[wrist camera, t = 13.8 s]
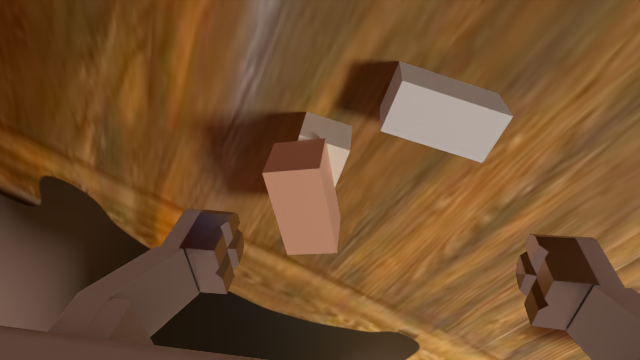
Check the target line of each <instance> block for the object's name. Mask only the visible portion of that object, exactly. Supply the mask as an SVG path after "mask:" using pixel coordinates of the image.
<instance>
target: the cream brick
mask: <svg viewBox="0 0 640 360" xmlns="http://www.w3.org/2000/svg"><path fill="white" fill-rule="evenodd" d="M351 135H352V126H349V125H346V124H343V123H340V122H337V121H334V120H331V119H328V118H324V117H321V116H318V115H315V114H312V113H309V112H306V115H305V119H304V122H303V125H302V128H301V131H300V135H299V138H298V141H302V140H313V139H324V138H326V143H327V148H328V154H329V159H330V164H331V170H332V175H333V181H334V186H336V184H337V181H338V179H339V177H340V174H341V172H342V169H343V167H344V164H345V162H346V159H347V157H348V155H349V152H350V146H351Z"/></svg>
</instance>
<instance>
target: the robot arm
mask: <svg viewBox="0 0 640 360" xmlns="http://www.w3.org/2000/svg"><path fill="white" fill-rule="evenodd" d="M239 224H240V221H239V217H238V214H236V213H234V212H223V211H213V210H199V209H189V208H188V209H187V210H185V211H184V212H183V214H182V215H181V217H180V218H179V220H178V221H177V223H176V224H175V226H174V227H173V229H172V230H171V232H170V233H169V235H168V236H167V238H166V239H165V241H164V243H163V244H162V246H161V247H154V248H153V249H151V250H149V251H148V252H146V253H144V254H143V255H141V256H139V257H138V258H136V259H134V260H133V261H131V262H129V263H127V264H126V265H124V266H122V267H121V268H119V269H117V270H116V271H114V272H112V273H110V274H109V275H107V276H105V277H104V278H102V279H100V280H99V281H97V282H96V283H94V284H92V285H90V286H89V287H87V288H85V289H84V290H82V291H80V292H78V294H77V295H76V296H75V298H74V299H73V300H72V302H71V303H70V304H69V305H68V306H67V308H66V309H65V310H64V312H63V313H62V314H61V315H60V317H59V318H58V319H57V321H56V322H55V323H54V324H53V326H52V327H51V328H50V330H49V331H48V332H46V331H38V330H30V329H22V328H14V327H6V326H0V360H264V359H256V358H248V357H240V356H232V355H225V354H217V353H209V352H201V351H194V350H186V349H178V348H170V347H162V346H155V345H153V343H152V342H151V339H150V337H151V336H152V335H153V334H154V333H155V332H156V331H157V330H159V328H161V327H162V326H163V325H164V324H165V323H166V322H167V321H169V319H171V318H172V317H173V316H174V315H175V314H176V313H178V312H179V311H180V310H181V309H182V308H183V307H184V306H186V305H187V304H188V303H189V302H190V301H191V300H192V299H193V298H194V297H196V296H197V295H198V294H199V292H207V293H220V294H227V292H228V290H229V287H230V285H231V283H232V280H233V278H234V272H233V268H234V267H236V266H237V265H238V264H239V263H240V261H241V258H242V254H243V249H244V239H243V234H242V233H241V232H240V231H239V230H238V229H237V228H238V226H239ZM524 245H525V248H526V250H527V251H526V252H525V253H523V254H522V255H520V257H519V259H518V262H517V269H516V277H517V283H518V286H519V290H520V291H521V292H523V293H524V294H525V295H526V296H527V298H526V301H525V303H524V305H525V308H526V311H527V314H528V318H529V321H530V324H531V326H536V327H544V328H552V329H560V330H567V331H566V332H567V333H568V334H569V336H570V337H571V338H572V339H573V340H574V341H575V342H576V343H577V344H578V345H579V346H580V347H581V348H582V349H583V351H584V352H585V353H586V354H587V355H588V356H589V357H590V358H591V359H592V360H640V294H639V293H637V292H636V291H634V290H633V289H631V288H625V287H624V285H623V284H622V282H621V280H620V279H619V277H618V275H617V273H616V272H615V270H614V268H613V267H612V265H611V263H610V262H609V260H608V258H607V257H606V255H605V253H604V252H603V250H602V248H601V247H600V245H599V243H598V242H597V240H595V239H594V238H589V237H573V236H572V237H569V236H554V235H539V234H530V235H529V236H528V237H527V239H526V241H525V244H524Z"/></svg>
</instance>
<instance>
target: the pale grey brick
mask: <svg viewBox="0 0 640 360" xmlns="http://www.w3.org/2000/svg"><path fill="white" fill-rule="evenodd" d="M512 118H513V116H512V114H511V113H510V111H509V109H508V108H507V106H506V105H505V103H504V102H503V100H502V99H501V97H500V95H499V94H498V93H495V92H492V91H489V90H486V89H483V88H480V87H477V86H474V85H471V84H468V83H465V82H461V81H458V80H455V79H452V78H449V77H446V76H443V75H440V74H437V73H434V72H431V71H428V70H425V69H422V68H419V67H416V66H413V65H410V64H407V63H404V62H401V61H399V63H398V66H397V68H396V70H395V73H394V75H393V78H392V80H391V82H390V85H389V87H388V89H387V92H386V94H385V97H384V99H383V101H382V104H381V106H380V131H382V132H385V133H389V134H392V135H395V136H398V137H401V138H405V139H408V140H411V141H414V142H417V143H421V144H424V145H427V146H430V147H433V148H436V149H440V150H443V151H446V152H449V153H452V154H456V155H459V156H462V157H465V158H468V159H472V160H475V161H478V162H481V163H483V161H484V160H485V158H486V157H487V155H488V154H489V152H490V151H491V149H492V148H493V146H494V145H495V143H496V142H497V140H498V139H499V137H500V136H501V134H502V133H503V131H504V130H505V128H506V127H507V125H508V124H509V122H510V121H511V119H512Z"/></svg>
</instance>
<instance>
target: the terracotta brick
mask: <svg viewBox="0 0 640 360" xmlns="http://www.w3.org/2000/svg"><path fill="white" fill-rule="evenodd" d="M262 174H263V177H264V180H265V184H266V187H267V190H268V193H269V197H270V200H271V203H272V206H273V210H274V213H275V216H276V219H277V223H278V226H279V229H280V232H281V235H282V239H283V242H284V245H285V248H286V252H287V255H295V254H323V253H337V247H338V238H339V228H340V213H339V208H338V202H337V197H336V192H335V186H334V181H333V175H332V170H331V164H330V159H329V154H328V148H327V143H326V138H324V139H313V140H302V141H292V142H281V143H274V145H273V148H272V150H271V153H270V155H269V157H268V160H267V162H266V165H265V167H264V170H263V172H262Z"/></svg>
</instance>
